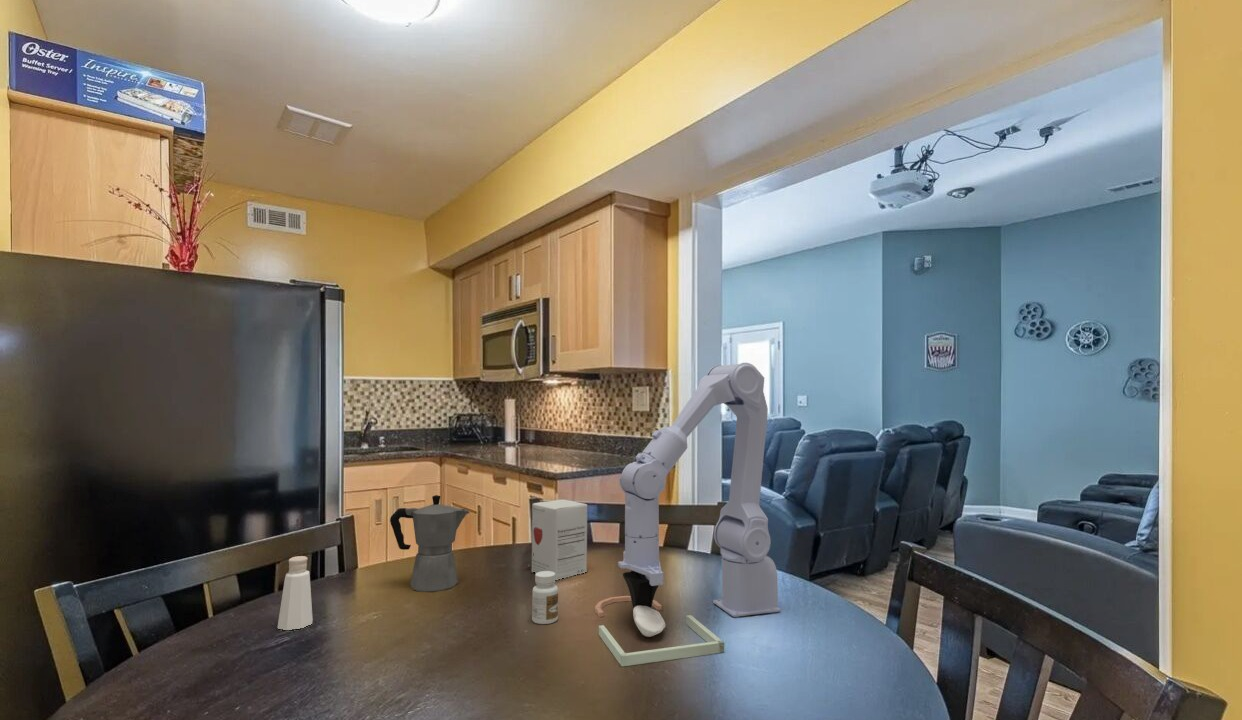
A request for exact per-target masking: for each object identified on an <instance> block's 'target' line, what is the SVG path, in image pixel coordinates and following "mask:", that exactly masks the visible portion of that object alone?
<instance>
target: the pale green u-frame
mask: <svg viewBox="0 0 1242 720" xmlns="http://www.w3.org/2000/svg"><path fill="white" fill-rule="evenodd" d="M685 619H686V620H685V621H686V622H685V623H686V625H687V626H688V627H689V629H692V631H694V632H695V633H696V634H697V636H699V637H700V638H702V639H703V640H704V641H705V642H700V643H692V644H684V645H677V646H671V647H670V646H669V647H663V648H655V649H648V650H647V649H646V650H641V651H633V652H625V651H624V650H623V648H622V647H621V646H620V644H619V643H618V642H617V641H616V639H615V638H614V637H613V635H612V634H611V632H610V631H609V630H608V629H607V627H606V626H605V625H604V624H603V625H598V636H599V637H600V638H601V640H602V642H603V643H604V644H605V645H606V647H607V648H608V650H609V651H610V652H611V654H612V656H613V657H614V658H615V659H616V661H617V662H618V663H619V664H618V665H620V667H627V666H628V667H629V666H635V665H642V664H644V665H645V664H651V663H658V662H665V661H671V660H677V659H679V660H680V659H686V658H687V659H688V658H692V657H693V658H694V657H699V656H706V655H708V656H709V655H714V654H720V653H721V654H722V653H725V642H724V641H723V640H722V639H721V638H719V636H717V634H716V635H715V634H714V632H712V631H711V630H709V628H707V627H706V626H705V625H703V624H702V623H701V622H700V621H699V620H697V619H696V618H695V617H694V616H693V615H691V614H689V615H686V618H685Z"/></svg>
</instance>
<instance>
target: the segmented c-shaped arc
mask: <svg viewBox="0 0 1242 720" xmlns="http://www.w3.org/2000/svg"><path fill="white" fill-rule="evenodd" d="M620 602H632V600H631V595H623V596H622V595H620V596H611V597H608V598H604V599H602V600H600V601H598V602H597V603H596V605H595V606H594V612H595V614H596V615H597V616H598V617H599V618H602V617H605V612H604V611H603V610H602V609H603V607H605V606H608V605H609V604H610V605H611V604H613V603H620ZM652 607H653V609H655V610H657V611H662V610H663V606H662V604H661V603H659V602H658V601H657V600H655V599H653V602H652Z"/></svg>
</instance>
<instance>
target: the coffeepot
mask: <svg viewBox="0 0 1242 720" xmlns="http://www.w3.org/2000/svg"><path fill="white" fill-rule="evenodd" d="M431 498H432V504H430V505H427V506H423V507H419V508H417V507H408V508H406V507H403V508H402V507H400V508H397V510H395V512H394V513H392V515H390V518H389V523H390V526H391V527H392V530H393V534H394V537H395V539H396V543H397V546H398V549H399V550H404V551H405V550H410V548H411V544H406V543H405V536H404V533H403V532H402V525H401V524H402V523H401V522H400V519H401V518H404V519H412V523H413V531H414V537H415V538H414V539H415V544H416V545H417V546H418V548H417V553H416V554H415V558H414V564H413V569H412V575H411V579H410V585H409V586H410V587H411V588H412V590H413V591H416V592H422V593H433V592H434V593H435V592H442V591H446V590H447V591H448V590H449V589H452V588H454V587H455V586H456V585H457V584H458V583H459V580H458V573H457V572H458V571H457V567H456V560H455V552H454V551H453V543H455V541H456V535H457V530H458V528H459V527H460V525H461V524H462V522H463V520H464V518H465V517H466V515H468V514H470V510H468V509H467V508H463V507H455V506H453V505H447V504H441V503H440V502H441V501H440V500H441V495H432V497H431Z"/></svg>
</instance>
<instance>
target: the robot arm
mask: <svg viewBox="0 0 1242 720" xmlns="http://www.w3.org/2000/svg"><path fill="white" fill-rule="evenodd" d="M764 384H765V377H764V376H763V375H762V373H761V372H760V371H759V369H758V368H757V367H756V366H755V365H753V364H752V363H750V362H741V363H737V364H735V363H734V364H727V365H714V366H712V367H710V368H709V369H708V370H707V372H706V374H705V375H704V376H703V377H702V378H701V379H700V380H699V383H698V386H697V388H696V390H695V391H694V392H693V394H692V395H691V397H690V398H689V400H688V401H687V402H686V404H685V405H684V407H683V409H681V411H680V412H679V414H678V416H677V417H676V418H675V420H674V421H673V422H672V424H671V425H670V426H663V427H661V428H660V429H659V430H654V431H653V432H652V434H651V437H652V439H651V440H650V441H649V443H648V444H647V446H646V447H645V448H644V449H643V451H642V452H641V453H640V452H638V453H637V455H636V456H635V459H636V461H633V462H630V463H628V464H627V465H626V466H625V467H624V469H623V470H622V472H621V477H619V478H618V484H619V486H620V489H621V490H622V491H623V492H624V493H623V494H624V505H625V506H624V551H623V555H622V556H623V557H622V558H623V559H622V561H621V560H620V561H618V562H617V566H618V567H619V568H620V569H627V570H630V571H625V572H623V573H622V577H623V579H624V581H625V584H626V586H627V588H628V591H629V592H628V593H629V594H630V595H629V596H631V600H632V601H631V604H632V610H633V609H634V607H636V606H639V605H641V606H648V607H650V608H651V609H652V607H653V606H652V602H653V600H654V598H655V594H656V593H657V589H658V588H659V586H663V585H664V571H662V567H661V560H660V526H659V525H660V524H659V523H660V520H659V519H660V518H659V517H660V513H659V512H660V511H659V509H660V507H659V504H660V502H659V501H660V500H659V498H660V497H659V496H660V494H661V493H663V492H664V491H665V489H666V488H665V487H666V483H667V476H668V475H669V473H670V472H671V470H672V469H673V468H674V467H675V465H676V464H677V462H678V461H679V460H680V458H681V457H682V456H683V454H684V453H685V452H686V450H687V449H688V437H689V436H690V435H691V433H692V432H693V431H694V430H695V429H696V428H697V426H699V424H700V423H701V422H702V420H704V418H705V417H706V416H707V415H708V414H709V413H710V412H711V410H712V409H713V408H714V407H715V406H717V405H722V404H724V405H726V406H727V407H728V408H729V410H731V412H732V413H733V414H734V415H735V417H736V422H735V424H736V425H735V434H734V445H733V453H732V454H733V457H732V465H731V466H732V467H731V476H730V485H729V496H728V501H727V503H725V505H724V506H722V507H721V509H720V512H719V519H718V521H717V522H716V525H715V526H714V530H713V538H714V542H715V544H716V545H717V546H718V547H719V548H720V550H719V551H720V555H721V594H722V595H721V599H713V601H712V603H713V604H714V605H716V606H717V607H718V608H720V609H722V610H723V611H724V612H726V613H727V614H728V615H730V616H732V617H733V618H738V617H745V616H754V615H762V614H771V613H779V612H781V608H780V607H779V603H778V602H779V598H778V597H779V595H778V594H779V592H778V590H779V589H778V588H779V587H778V586H779V585H778V584H779V583H778V571H777V566H776V563H775V562H774V560H773V559H772V558H771V557H770V556H768V553H769V551H770V549H771V542H772V541H771V535H770V531H769V526H768V525H769V524H768V523H769V519H768V516H767V514H765V512H764V511H763V509H762V507H761V506H760V503H761V502H760V500H761V489H762V479H763V467H764V457H765V456H764V455H765V446H766V445H765V444H766V434H767V424H768V414H769V413H768V405H767V404H768V403H767V401H766V397H765V393H764V389H765V388H764V386H765V385H764Z"/></svg>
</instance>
